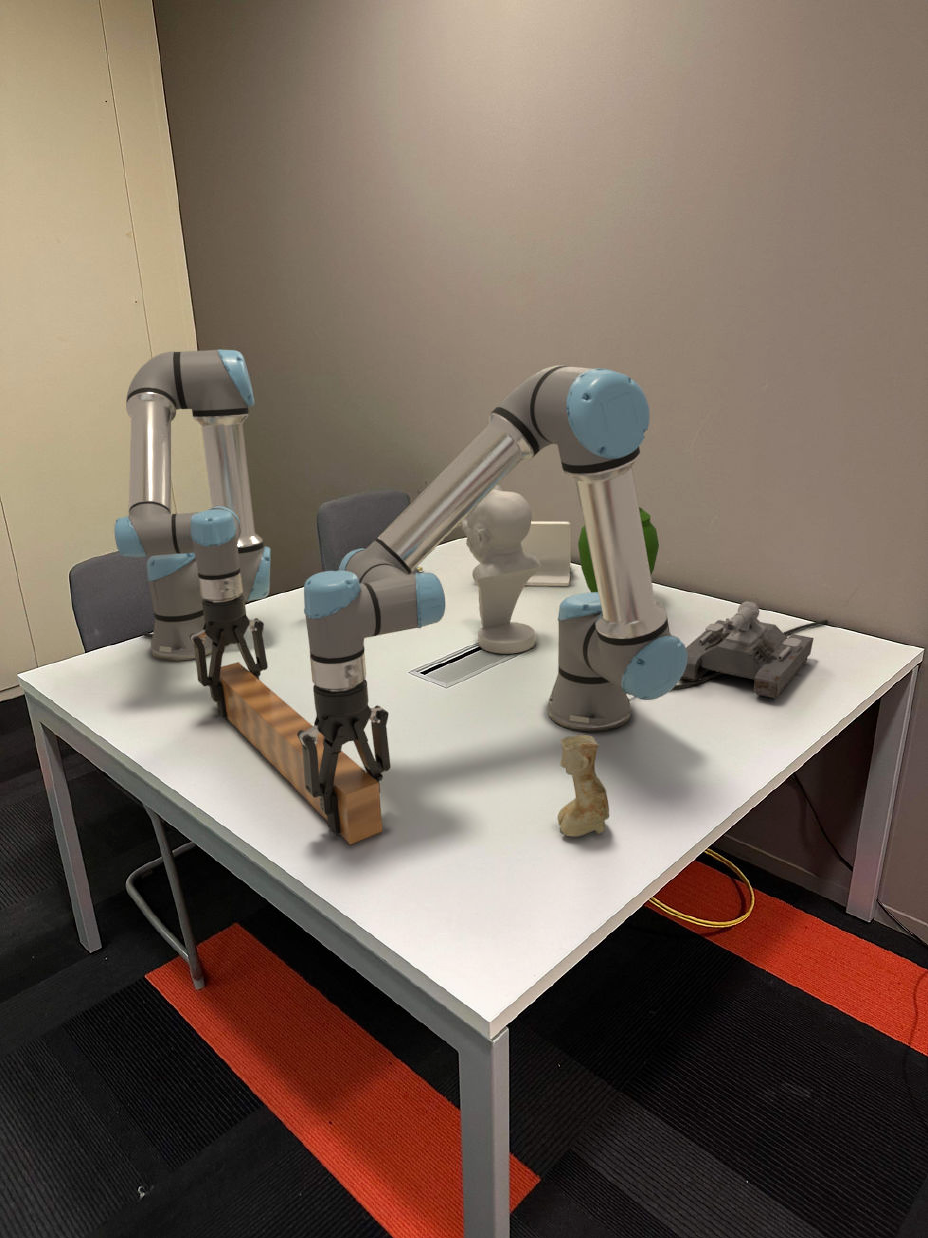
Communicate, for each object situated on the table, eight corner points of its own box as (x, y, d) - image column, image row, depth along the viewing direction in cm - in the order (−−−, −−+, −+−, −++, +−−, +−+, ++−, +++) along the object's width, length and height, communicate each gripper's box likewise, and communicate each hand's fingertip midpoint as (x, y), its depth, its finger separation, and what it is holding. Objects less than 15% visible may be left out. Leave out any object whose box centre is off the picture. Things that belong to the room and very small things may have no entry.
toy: (717, 640, 190) (723, 576, 185) (811, 659, 179) (819, 592, 174) (673, 681, 171) (677, 611, 166) (774, 705, 160) (782, 631, 155)
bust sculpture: (498, 614, 210) (496, 472, 198) (553, 646, 190) (555, 490, 178) (440, 626, 203) (434, 481, 191) (491, 661, 183) (488, 500, 171)
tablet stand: (569, 585, 229) (570, 524, 223) (476, 584, 232) (475, 523, 226) (570, 566, 246) (571, 508, 240) (484, 564, 249) (483, 507, 243)
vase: (599, 587, 227) (601, 497, 218) (668, 600, 216) (673, 505, 208) (562, 608, 212) (564, 513, 204) (634, 623, 202) (639, 523, 193)
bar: (217, 708, 166) (211, 669, 163) (243, 700, 169) (238, 661, 166) (350, 845, 123) (345, 795, 120) (382, 831, 126) (378, 782, 123)
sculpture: (554, 820, 127) (555, 731, 122) (601, 816, 128) (604, 727, 122) (563, 843, 122) (564, 751, 116) (612, 839, 122) (616, 746, 117)
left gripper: (178, 613, 148) (197, 731, 156) (278, 590, 157) (291, 703, 166) (165, 601, 153) (184, 716, 162) (262, 580, 163) (275, 690, 171)
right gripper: (289, 709, 112) (307, 857, 120) (410, 672, 121) (418, 812, 129) (267, 690, 117) (285, 832, 126) (383, 656, 127) (393, 790, 135)
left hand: (238, 710), depth 164 cm, fingers closed on bar, 5 cm apart
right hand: (352, 822), depth 128 cm, fingers closed on bar, 5 cm apart
